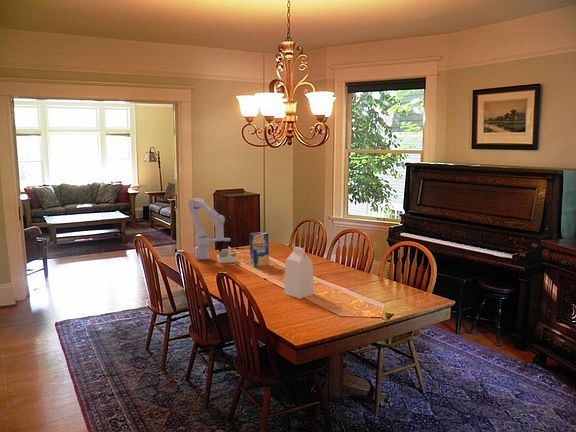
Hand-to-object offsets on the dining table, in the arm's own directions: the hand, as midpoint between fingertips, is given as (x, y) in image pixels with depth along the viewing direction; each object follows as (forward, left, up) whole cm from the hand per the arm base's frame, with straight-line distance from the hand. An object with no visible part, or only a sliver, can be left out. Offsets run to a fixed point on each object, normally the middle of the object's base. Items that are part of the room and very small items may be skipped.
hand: (220, 251), depth 336 cm
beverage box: (+24, -18, -7) cm, 31 cm away
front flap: (+1, -7, 0) cm, 7 cm away
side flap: (+8, 0, 0) cm, 8 cm away
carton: (+4, 0, -7) cm, 8 cm away
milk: (+30, -86, -8) cm, 91 cm away
